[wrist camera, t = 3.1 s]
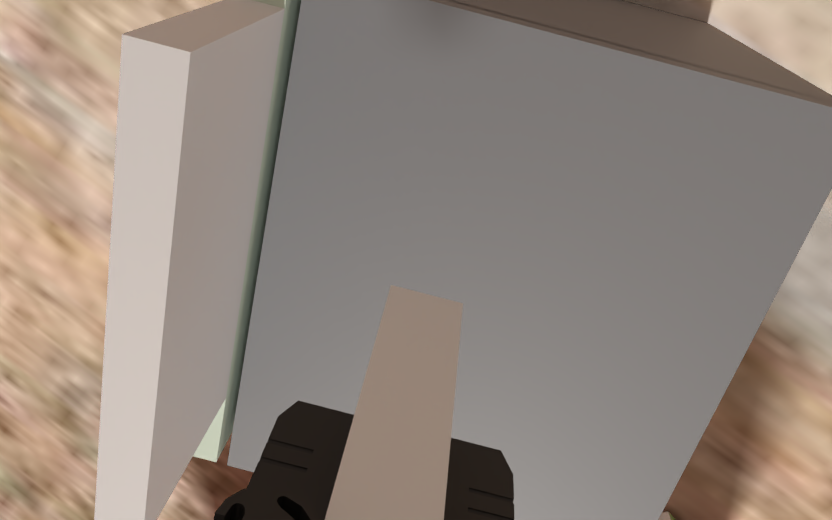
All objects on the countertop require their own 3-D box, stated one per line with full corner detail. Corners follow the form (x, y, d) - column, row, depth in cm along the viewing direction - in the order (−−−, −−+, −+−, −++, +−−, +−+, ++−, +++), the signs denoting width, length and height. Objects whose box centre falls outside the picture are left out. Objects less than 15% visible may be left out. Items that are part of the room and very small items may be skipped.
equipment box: (707, 23, 32) (868, 117, 18) (585, 328, 39) (631, 571, 25) (395, -60, 32) (306, -32, 18) (329, 260, 39) (227, 465, 25)
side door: (387, -59, 32) (196, -2, 12) (323, 256, 39) (134, 618, 19) (360, -67, 32) (125, -20, 12) (301, 250, 39) (89, 607, 19)
